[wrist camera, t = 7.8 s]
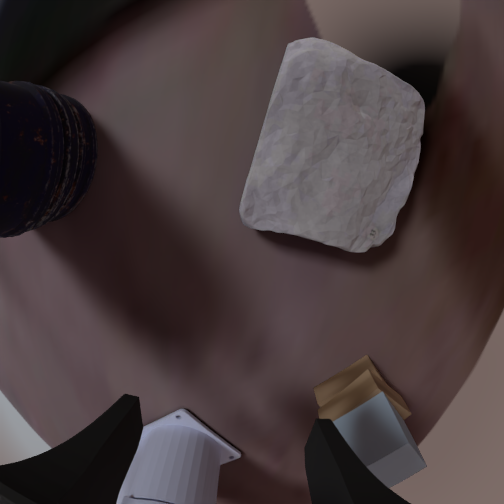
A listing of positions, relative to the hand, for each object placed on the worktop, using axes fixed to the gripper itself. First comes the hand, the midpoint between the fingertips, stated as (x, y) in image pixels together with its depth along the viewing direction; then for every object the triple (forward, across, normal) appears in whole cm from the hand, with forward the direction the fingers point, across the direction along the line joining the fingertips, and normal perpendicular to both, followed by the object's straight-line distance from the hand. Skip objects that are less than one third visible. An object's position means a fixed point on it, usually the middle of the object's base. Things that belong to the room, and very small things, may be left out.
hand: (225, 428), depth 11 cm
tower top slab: (+8, -10, +6) cm, 15 cm away
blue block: (+6, -10, +6) cm, 13 cm away
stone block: (+11, -5, -12) cm, 17 cm away
